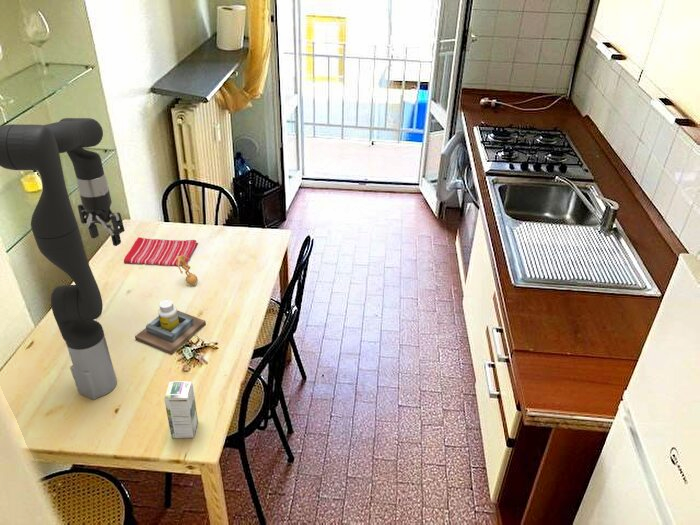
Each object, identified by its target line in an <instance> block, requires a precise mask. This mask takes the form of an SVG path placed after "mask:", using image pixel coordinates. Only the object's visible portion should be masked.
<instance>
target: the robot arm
mask: <svg viewBox="0 0 700 525" xmlns="http://www.w3.org/2000/svg"><path fill="white" fill-rule="evenodd" d="M103 130H104V129H103V127H102V125H101V124H100V123H99V121H97V120H96V119H94V118H90V117H65V118H61V119H60V120H59V121H56V122H52V123H47V124H22V123H21V124H19V123H18V124H17V123H16V124H10V123H9V124H4V125H0V167H2V168H3V169H7V170H13V171H37V172H38V173H39V175H40V178H41V183H42V185H41V186H42V190H41V194H40V197H39V200H38V201H37V203H36V206H35V208H34V210H33V213H32V216H31V220H30V227H31V231H32V232H31V233H32V234H33V237H34V241H35V242H36V245H37V248H38V250H39V252H40V253H41V254H42V255H43V256H44V257H45V258H46V259H47V260H48V261H49V262H50V263H52V264H53V265H55V266H56V268H58V269H60V270H61V271H63V272H64V273H65V274H67V276H69V277H70V278H71V280H72V281H73V283H74V284H67V285H58V286H56V287H55V288H54V289H53V290H52V292H51V295H50V306H51V310H52V315H53V316H54V319H55V323H56V324H57V327H58V329H59V332H60V335H61V337H62V339H63V340H64V342H65V344H66V347H67V351H68V354H69V357H70V360H71V363H72V365H71V366H70V367H69V368H70V372H71V375H72V378H73V380H74V383H75V387H76V390H77V392H78V393H79V394H81V395H83V396H85V397H87V398H89V399H90V400H96V399H98V398H100V397H104V396H106V395H107V394H109V393H111V392H112V391H113V390H114V389H115V388H116V386H117V384H118V383H117V382H118V380H117V376H116V372H115V369H114V365H113V362H112V358H111V354H110V351H109V347H108V343H107V339H106V336H105V332H104V328H103V326H102V324H101V323H100V322H99V321H98V320H97V319H98V318H99V317H101V315H102V313H103V299H102V295H101V291H100V288H99V286H98V283H97V280H96V278H95V275H94V273H93V271H92V269H91V266H90V262H89V261H88V257H87V253H86V250H85V247H84V244H83V238H82V235H81V232H80V228H79V226H78V225H79V224H78V221H77V219H76V216H75V213H74V210H73V207H72V204H71V199H70V196H69V193H68V189H67V184H66V181H65V176H64V171H63V166H62V161H61V156H60V154H63V153H67V156H68V157H69V159H70V161H71V163H72V165H73V170H74V174H75V177H76V186H77V190H78V194H79V197H80V201H81V203H80V204H78V205H77V209H78V215H79V219H80V223H82V224H83V225H85V226H86V227H87V229H88V232H89V234H90V237H91V239H96V238H98V237H99V235H100V234H99V230H98V226H97V225H99V224H100V225H101V226H102V227H103V228H104V229H105V230H107V231H108V233H110V238H111V242H112V246H114V247H117V246H119V245H120V244H121V243H122V240H121V236H120V234H122V233H124V232H125V231H126V230H125V227H124V222H123V219H122V215H121V213H120V212H116V213H114V212H113V211H112V209H111V205H112V198H111V192H110V189H109V185H108V184H109V183H108V180H107V176H106V175H105V171H104V167H103V161H102V158H101V156H100V154H99V153H97V152H95V151H92V150H88V149H86V148H92V147H96V146H98V145H99V144H100V143H101V141H102V140H103V136H104V131H103ZM109 222H111V223H109ZM108 223H109V224H108ZM112 227H113V229H112Z"/></svg>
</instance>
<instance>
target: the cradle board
mask: <svg viewBox="0 0 700 525" xmlns="http://www.w3.org/2000/svg"><path fill="white" fill-rule="evenodd" d="M177 314H178V320H179V326H178V327H176V328H175V329H174V330H173V331H172V332H169V331H167V330H164V329H162V328H161V324H160V319H159V315H158V316H156V318H154V319H153V320H152V321H150V322H149V323H148V324H147V325H146V326H145V328H144V329H142V330H141V331H139V333H137V334H135V336H134V338H135V341H137V342H140V343H142V344H144V345H147V346H148V347H151V348H154V349H156V350H159V351H162V352H164V353H166V354H169V355H173V354H174V353H175V352H177V351H178V350H179V349H180V348H182V346H183V345H184V344H186V343H187V342H188V341H189V340H190V339H192V338H193V337H194V336H195V335H196V334H197V333H198V332H199V331H201V330H202V328H204V327H205V326H206V324H207V323H206V320H204V319H201V318H198V317H196V316H193V315H190V314H188V313H186V312H183V311H180V310H177ZM186 341H187V342H186ZM185 342H186V343H185ZM179 347H180V348H179ZM178 348H179V349H178ZM177 349H178V350H177Z"/></svg>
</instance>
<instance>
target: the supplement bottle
mask: <svg viewBox="0 0 700 525" xmlns="http://www.w3.org/2000/svg"><path fill="white" fill-rule="evenodd" d="M158 307H159V309H158V316H159V319H160V324H161V328H162V329H164V330H167V331H169V332H172V331H173V330H174V329H175V328H176V327H178V326H179V320H178V314H177V308H176V306H175V305H174V302H173V301H172V300H171V299H164V300H161V301H160V302H159V304H158Z"/></svg>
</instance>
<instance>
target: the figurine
mask: <svg viewBox="0 0 700 525" xmlns="http://www.w3.org/2000/svg"><path fill="white" fill-rule="evenodd" d="M184 258H187V257H186V256H184V255H182V256H178V257H177V260H178V266H177V267H178V270H179V271H180V273H181V275H182V274H184V273H185V275H186V277H185V281H186V282H185V283H187V285H189V286H195V285H196V284H197V282H198V276H197V275H196V274H194V273H192V272H190V271H189V270H190V269H191V266H190V265H189V264H187V263H186V262H185V259H184ZM187 259H189V258H187ZM189 260H190V261H191V259H189ZM180 263H181V265H182V266H179V264H180ZM181 267H182V268H181ZM182 270H184V271H185V272H184V273H183V271H182Z"/></svg>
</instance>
